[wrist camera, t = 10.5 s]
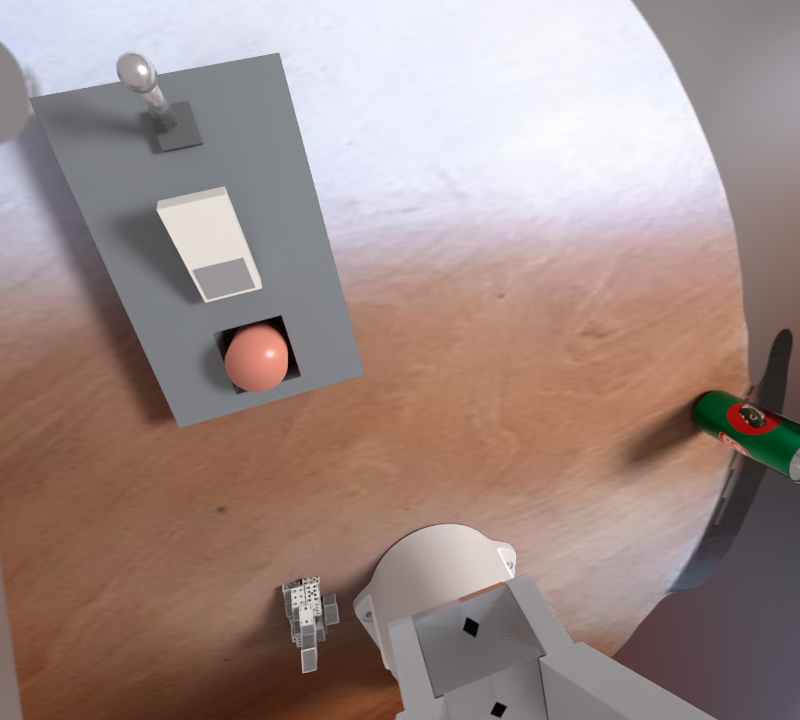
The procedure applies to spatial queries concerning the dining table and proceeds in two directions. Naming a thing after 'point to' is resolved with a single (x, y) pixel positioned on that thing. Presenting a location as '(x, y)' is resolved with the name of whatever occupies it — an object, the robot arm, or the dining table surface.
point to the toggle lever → (146, 85)
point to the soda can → (751, 431)
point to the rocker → (210, 243)
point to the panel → (255, 210)
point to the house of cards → (309, 617)
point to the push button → (257, 356)
